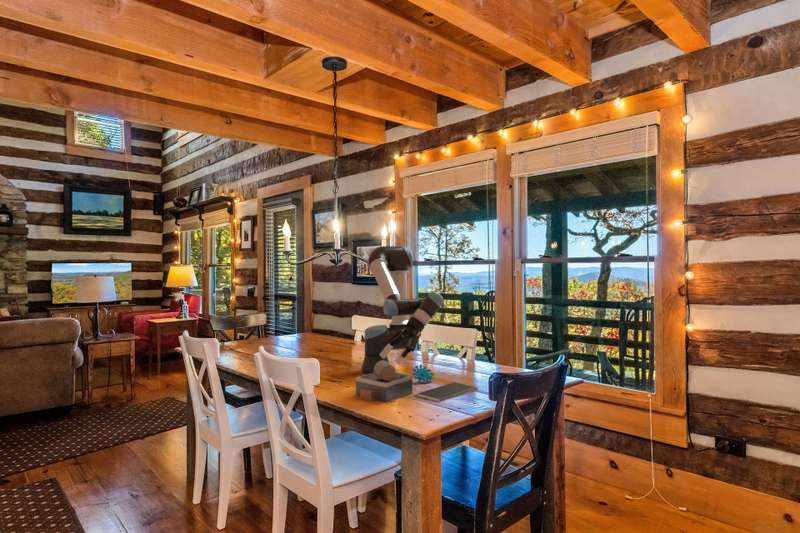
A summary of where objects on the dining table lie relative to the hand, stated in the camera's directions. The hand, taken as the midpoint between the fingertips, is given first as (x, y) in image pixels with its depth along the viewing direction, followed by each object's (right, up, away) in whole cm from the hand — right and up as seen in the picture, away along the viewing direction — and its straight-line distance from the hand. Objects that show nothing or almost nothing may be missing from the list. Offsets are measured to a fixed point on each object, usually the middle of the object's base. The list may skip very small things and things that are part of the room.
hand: (388, 359), depth 200 cm
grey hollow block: (-3, -15, -1) cm, 15 cm away
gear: (+16, -15, +20) cm, 29 cm away
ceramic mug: (-1, -9, 0) cm, 9 cm away
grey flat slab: (+25, -15, +1) cm, 29 cm away
